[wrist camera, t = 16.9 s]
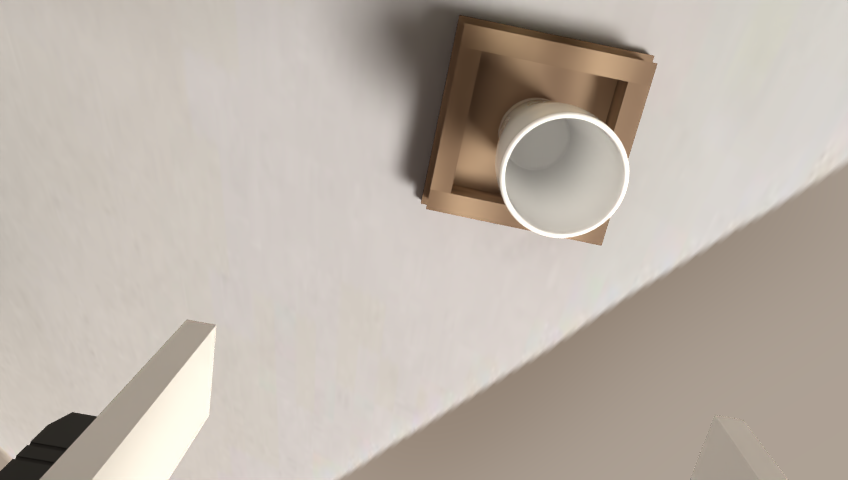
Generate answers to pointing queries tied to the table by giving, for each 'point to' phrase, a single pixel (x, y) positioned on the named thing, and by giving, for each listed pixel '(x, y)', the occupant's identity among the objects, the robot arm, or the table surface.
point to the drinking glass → (559, 167)
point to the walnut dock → (511, 83)
